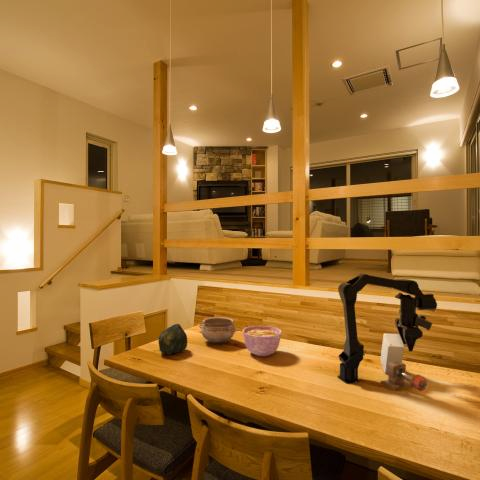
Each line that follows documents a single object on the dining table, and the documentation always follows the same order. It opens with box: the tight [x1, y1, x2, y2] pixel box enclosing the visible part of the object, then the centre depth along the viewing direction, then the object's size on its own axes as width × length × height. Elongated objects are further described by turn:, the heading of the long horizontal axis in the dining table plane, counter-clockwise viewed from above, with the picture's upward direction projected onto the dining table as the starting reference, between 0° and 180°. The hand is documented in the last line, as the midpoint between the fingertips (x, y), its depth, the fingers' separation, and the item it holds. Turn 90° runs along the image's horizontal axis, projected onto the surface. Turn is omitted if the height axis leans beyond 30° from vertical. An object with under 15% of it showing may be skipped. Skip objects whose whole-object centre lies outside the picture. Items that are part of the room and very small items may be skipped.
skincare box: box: [379, 332, 405, 374], centre depth 130 cm, size 8×7×16 cm
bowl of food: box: [242, 325, 282, 357], centre depth 154 cm, size 20×20×12 cm
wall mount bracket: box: [380, 361, 414, 391], centre depth 120 cm, size 10×6×8 cm, turn 108°
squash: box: [157, 323, 188, 355], centre depth 156 cm, size 14×15×15 cm
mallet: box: [397, 369, 428, 392], centre depth 117 cm, size 5×16×5 cm, turn 18°
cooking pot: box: [198, 316, 239, 345], centre depth 172 cm, size 25×19×12 cm
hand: (407, 347), depth 125 cm, fingers open, 9 cm apart
